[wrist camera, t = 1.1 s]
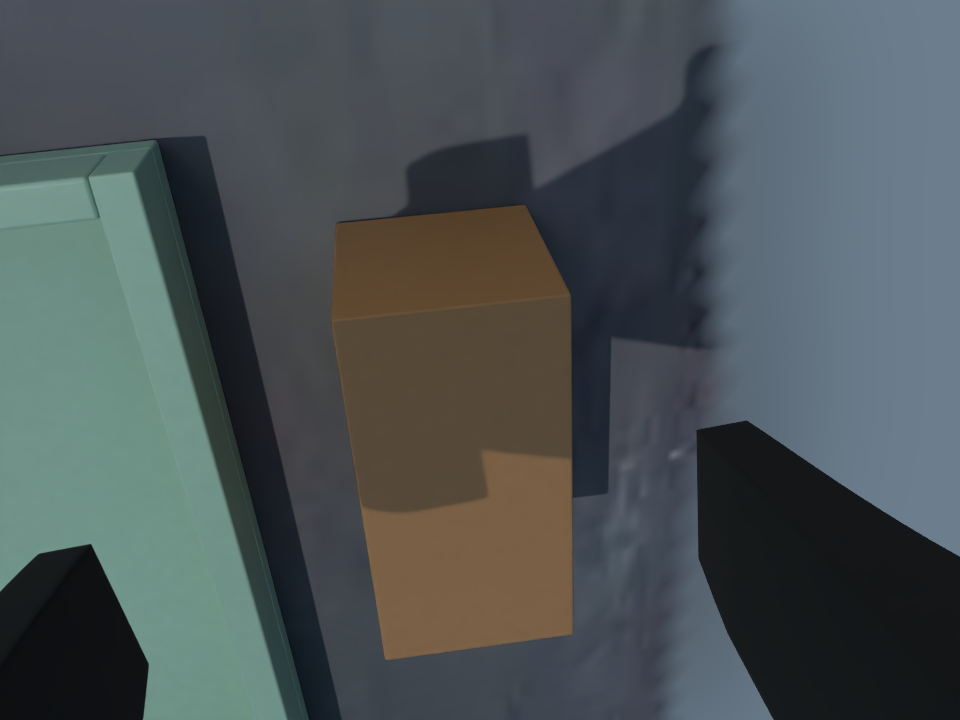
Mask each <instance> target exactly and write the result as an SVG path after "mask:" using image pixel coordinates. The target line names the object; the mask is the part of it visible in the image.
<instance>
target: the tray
mask: <svg viewBox="0 0 960 720" xmlns="http://www.w3.org/2000/svg"><path fill="white" fill-rule="evenodd" d="M87 544H91V545H92V547H93V549H94V551H95V553H96V555H97V557H98V559H99V561H100V563H101V565H102V567H103V570H104V572H105V574H106V576H107V578H108V580H109V582H110V584H111V586H112V588H113V590H114V592H115V595H116V597H117V599H118V601H119V603H120V605H121V607H122V609H123V611H124V613H125V615H126V617H127V620H128V622H129V624H130V626H131V628H132V630H133V632H134V634H135V636H136V638H137V640H138V642H139V644H140V647H141V649H142V651H143V653H144V655H145V657H146V659H147V661H148V663H149V670H148V680H147V690H146V699H145V709H144V717H143V720H309V718H308V714H307V710H306V706H305V702H304V699H303V695H302V691H301V687H300V683H299V679H298V676H297V672H296V668H295V664H294V660H293V657H292V653H291V649H290V645H289V641H288V637H287V634H286V630H285V626H284V622H283V618H282V615H281V611H280V607H279V603H278V599H277V595H276V592H275V588H274V584H273V580H272V576H271V573H270V569H269V565H268V561H267V557H266V553H265V550H264V546H263V542H262V538H261V534H260V531H259V527H258V523H257V519H256V515H255V511H254V508H253V504H252V500H251V496H250V492H249V489H248V485H247V481H246V477H245V473H244V469H243V466H242V462H241V458H240V454H239V450H238V447H237V443H236V439H235V435H234V431H233V427H232V424H231V420H230V416H229V412H228V408H227V405H226V401H225V397H224V393H223V389H222V385H221V382H220V378H219V374H218V370H217V366H216V363H215V359H214V355H213V351H212V347H211V343H210V340H209V336H208V332H207V328H206V324H205V321H204V317H203V313H202V309H201V305H200V301H199V298H198V294H197V290H196V286H195V282H194V279H193V275H192V271H191V267H190V263H189V259H188V256H187V252H186V248H185V244H184V240H183V237H182V233H181V229H180V225H179V221H178V217H177V214H176V210H175V206H174V202H173V198H172V195H171V191H170V187H169V183H168V179H167V175H166V172H165V168H164V164H163V160H162V156H161V153H160V149H159V145H158V142H157V141H155V140H150V141H140V142H131V143H122V144H112V145H103V146H94V147H84V148H75V149H66V150H56V151H47V152H38V153H28V154H19V155H10V156H0V591H1V590H2V589H3V588H4V587H5V586H6V585H7V584H8V583H9V582H10V581H11V580H12V579H13V578H14V577H15V576H16V575H17V574H18V573H19V572H20V571H21V570H22V569H23V568H24V567H25V566H26V565H27V564H28V563H29V562H30V561H31V560H32V559H33V558H35V557H36V556H37V555H38V554H39V553H45V552H50V551H55V550H61V549H66V548H71V547H76V546H82V545H87Z"/></svg>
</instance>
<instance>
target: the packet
mask: <svg viewBox="0 0 960 720" xmlns="http://www.w3.org/2000/svg"><path fill="white" fill-rule="evenodd" d="M331 325H332V331H333V338H334V344H335V350H336V356H337V362H338V369H339V375H340V381H341V387H342V394H343V400H344V406H345V412H346V419H347V425H348V431H349V437H350V443H351V450H352V456H353V462H354V468H355V475H356V481H357V487H358V493H359V500H360V506H361V512H362V518H363V524H364V531H365V537H366V543H367V549H368V556H369V562H370V568H371V574H372V581H373V587H374V593H375V599H376V606H377V612H378V618H379V624H380V630H381V637H382V643H383V649H384V655H385V659H386V660H392V659H399V658H406V657H413V656H420V655H428V654H435V653H442V652H449V651H456V650H464V649H471V648H478V647H485V646H492V645H500V644H507V643H514V642H521V641H528V640H536V639H543V638H550V637H557V636H564V635H571V634H573V491H572V328H571V294H570V292H569V290H568V288H567V286H566V284H565V282H564V280H563V278H562V276H561V274H560V272H559V270H558V268H557V266H556V264H555V262H554V260H553V258H552V256H551V255H550V253H549V251H548V249H547V247H546V245H545V243H544V241H543V239H542V237H541V235H540V233H539V231H538V229H537V227H536V225H535V223H534V221H533V219H532V217H531V215H530V213H529V211H528V209H527V207H526V205H518V206H508V207H498V208H488V209H478V210H468V211H457V212H447V213H437V214H427V215H417V216H407V217H397V218H387V219H376V220H366V221H356V222H346V223H338V224H336V232H335V252H334V272H333V291H332V311H331Z"/></svg>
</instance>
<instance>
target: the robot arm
mask: <svg viewBox="0 0 960 720" xmlns="http://www.w3.org/2000/svg"><path fill="white" fill-rule="evenodd" d="M697 484H698V553H699V560H700V563H701V566H702V568H703V571H704V573H705V576H706V579H707V582H708V584H709V587H710V590H711V592H712V595H713V598H714V600H715V603H716V605H717V608H718V610H719V612H720V615H721V618H722V620H723V623H724V625H725V628H726V630H727V633H728V635H729V637H730V639H731V640H732V642H733V644H734V646H735V648H736V650H737V652H738V654H739V656H740V658H741V659H742V661H743V663H744V665H745V667H746V669H747V670H748V673H749V674H750V676H751V678H752V680H753V682H754V684H755V686H756V688H757V690H758V692H759V693H760V695H761V697H762V699H763V701H764V703H765V704H766V706H767V708H768V710H769V712H770V714H771V716H772V717H773V719H774V720H960V557H959V556H958V555H956V554H954V553H952V552H951V551H949V550H947V549H945V548H943V547H942V546H940V545H938V544H936V543H935V542H933V541H931V540H929V539H928V538H926V537H924V536H922V535H921V534H919V533H918V532H916V531H914V530H913V529H911V528H909V527H908V526H906V525H904V524H903V523H901V522H899V521H898V520H896V519H895V518H893V517H891V516H890V515H888V514H886V513H885V512H883V511H882V510H880V509H878V508H877V507H875V506H874V505H872V504H871V503H869V502H868V501H866V500H864V499H863V498H861V497H860V496H858V495H857V494H855V493H854V492H852V491H851V490H849V489H848V488H846V487H844V486H843V485H841V484H840V483H838V482H837V481H835V480H834V479H832V478H831V477H829V476H828V475H826V474H825V473H823V472H822V471H821V470H819V469H818V468H816V467H815V466H813V465H812V464H810V463H808V462H807V461H806V460H804V459H803V458H801V457H800V456H798V455H797V454H795V453H794V452H793V451H791V450H790V449H788V448H787V447H785V446H784V445H782V444H781V443H779V442H778V441H776V440H775V439H773V438H772V437H771V436H769V435H768V434H766V433H765V432H763V431H762V430H760V429H759V428H757V427H755V426H754V425H753V424H751V423H749V422H748V421H742V422H736V423H731V424H726V425H720V426H715V427H710V428H705V429H699V430H697ZM148 670H149V663H148V661H147V659H146V657H145V655H144V653H143V651H142V649H141V647H140V644H139V642H138V640H137V638H136V636H135V634H134V632H133V630H132V628H131V626H130V624H129V622H128V620H127V617H126V615H125V613H124V611H123V609H122V607H121V605H120V603H119V601H118V599H117V597H116V595H115V592H114V590H113V588H112V586H111V584H110V582H109V580H108V578H107V576H106V574H105V572H104V570H103V567H102V565H101V563H100V561H99V559H98V557H97V555H96V553H95V551H94V549H93V547H92V545H91V544H87V545H82V546H76V547H71V548H66V549H61V550H55V551H50V552H45V553H39V554H38V555H37V556H36V557H35V558H33V559H32V560H31V561H30V562H29V563H28V564H27V565H26V566H25V567H24V568H23V569H22V570H21V571H20V572H19V573H18V574H17V575H16V576H15V577H14V578H13V579H12V580H11V581H10V582H9V583H8V584H7V585H6V586H5V587H4V588H3V589H2V590H1V591H0V720H143V717H144V709H145V699H146V690H147V680H148Z"/></svg>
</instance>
